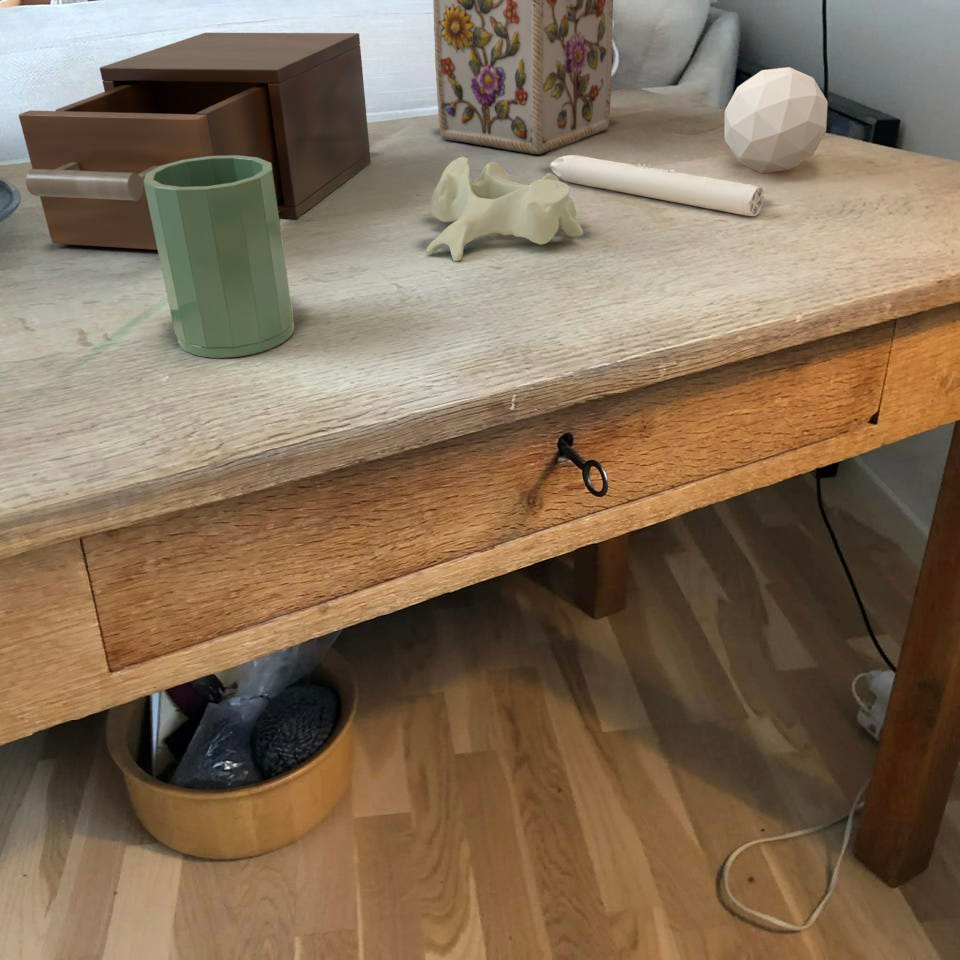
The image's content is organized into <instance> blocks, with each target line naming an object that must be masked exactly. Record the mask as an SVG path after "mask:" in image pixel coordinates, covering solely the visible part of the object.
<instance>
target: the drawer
mask: <svg viewBox="0 0 960 960" xmlns="http://www.w3.org/2000/svg"><path fill="white" fill-rule="evenodd" d="M268 84H269V83H220V82H159V81H132V82H130V83H127V84H124V85H121V86H119V87H116V88H113V89H111V90H108V91H103V92H99V93H97V94H95V95H91V96H89V97H87V98H84V99H81V100H79V101H75V102H72V103H70V104H67V105H65V106H62V107H59V108H56V109H55V110H27V111H24V112H22V113H19V114H18V119H19V123H20V126H21V130H22V134H23V138H24V141H25V146H26V149H27V153H28V157H29V161H30V164H31V165H30V166H31V169H30V170H28V171H27V173H26V176H25V185H26V188H27V191H28V192H29V194H30V195H32V196H34V197H39V198H40V203H41V206H42V210H43V213H44V217H45V221H46V225H47V229H48V232H49V236H50V241H51V243H52V244H53V245H55V244H57V245H70V246H71V245H73V246H86V247H88V246H90V247H106V248H119V249H120V248H122V249H138V250H139V249H140V250H154V251H155V250H157V251H158V249H157V244H156V239H155V235H154V230H153V225H152V220H151V215H150V211H149V206H148V201H147V196H146V191H145V186H144V182H143V181H144V178H145V175H146V173H148V172H150V171H152V170H154V169H156V168H157V167H159V166H162V165H165V164H169V163H173V162H177V161H181V160H185V159H192V158H200V157H207V156H230V155H239V156H248V157H257V158H260V159H263V160H265V161H268V162H270V163H271V164H272V169H273V176H274V183H275V191H276V198H277V200H278V199H279V198H281V197H282V196H283V191H282V184H281V176H280V169H279V162H278V154H277V147H276V140H275V132H274V125H273V118H272V110H271V103H270V96H269V88H268Z"/></svg>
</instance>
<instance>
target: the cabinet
mask: <svg viewBox="0 0 960 960" xmlns="http://www.w3.org/2000/svg"><path fill="white" fill-rule="evenodd" d="M99 72H100V77H101V80H102V86H103V92H105V91H108V90H111V89H113V88H116V87H119V86H121V85H124V84H127V83H130V82H132V81H159V82H220V83H269V84H268V88H269V96H270V103H271V110H272V118H273V125H274V132H275V140H276V147H277V154H278V162H279V169H280V176H281V184H282V191H283V196H282V197H281V198H279V199H278V200H277V205H278V212H279V219H291V220H293V219H294V220H297V219H299V218H300V217H302V216H303V215H304V214H306V213H307V212H308V211H309V210H311V209H312V208H313V207H315V206H316V205H317V204H318V203H320V202H322V201H323V200H324V199H325V198H326V197H328V196H329V195H330V194H331V193H333V192H334V191H335V190H337V189H338V188H340V187H341V186H342V185H343V184H345V183H346V182H347V181H349V180H350V179H351V178H353V177H354V176H355V175H357V174H358V173H359V172H360V171H361V170H363V169H364V168H366V167H367V166H369V165H370V164H371V161H372V160H371V152H370V151H371V150H370V139H369V130H368V129H369V128H368V118H367V106H366V105H367V104H366V96H365V95H366V94H365V83H364V74H363V61H362V51H361V40H360V33H359V32H202V33H200V34H197V35H193V36H191V37H188V38H186V39H182V40H178V41H176V42H173V43H170V44H167V45H164V46H161V47H157V48H155V49H153V50H152V49H151V50H149V51H146V52H145V51H144V52H143V53H140V54H136V55H133V56H130V57H128V58H127V57H126V58H124V59H122V60H118V61H116V62H112V63H109V64H107V65H103V66H100V67H99Z"/></svg>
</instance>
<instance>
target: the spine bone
mask: <svg viewBox="0 0 960 960" xmlns="http://www.w3.org/2000/svg"><path fill="white" fill-rule="evenodd" d="M508 176H509V175H508V174H507V172H506V170H505V169H504V167H503V165H502V164H500V163H499V162H496V161H489V162H488V163H487V164H486V165H485V166H484V169H483V170H482V171H481V172H480V174H479V175H478V176H477V177H476V179H475V180H474V181H472V180H471V165H470V160H469V158H468V157H466V156H464V157H463V156H459V158H456V159H453V160H452V161H451V162H450V163H449V164H448V165H447V166H446V167H445V169H444V171H443V172H442V174H441V177H440V179H439V181H438V183H437V185H436V186H435V188H434V190H433V192H432V197H431V201H430V203H429V213H430V215H431V216H432V217H433V218H436V219H437V220H439V221H440V222H445V223H447V222H449V223H450V222H451V224H449V225H447V227H446V228H445V229H444V230H443V231H442V232H441V233H440V234H439V235H438V236H436V238H434V239H433V240H431V242H430V243H429V244H428V245H427V247H426V253H427V255H429V256H431V255H432V254H434V253H435V252H437V251H438V250H439V249H440V248H442V247H443V246H445V245H447V246H448V247H449V251H450V255H451V258H452V260H453V261H456V262H459V261H460V260H462V258H463V255H464V247H465V246H466V245H467V244H468V243H470V242H472V241H474V240H476V239H478V238H480V237H483V236H487V235H490V234H495V233H498V234H501V235H503V236H509V235H512V236H514V237H515V238H524V239H527V240H529V241H530V242H532V243H534V244H537V245H545V244H547V243H550V241H551V240H552V239H553V238H554V237H555V235H556V233H557V232H558V231H559V229H560V227H561V229H562V231H563V232H564V234H565V235H567V236H568V237H569V238H577V237H581V236H583V235H584V230H583V228H582V227H581V225H580V223H579V222H578V221H577V220H576V218H577V213H578V212H577V208H576V205H575V202H574V200H573V198H572V197H571V196H570V195H571V191H572V190H571V186H569V185H568V184H567V183H565V182H562V181H560V180H559V177H558V176H557V175H556V174H552V173H551V172H547V173H546V174H545V175H544V176H543V177H542V178H538V179H536V180H533V181H532V182H531V183H529V184H525V183H521V182H515V181H513V180H511V179H510V178H509V177H508Z"/></svg>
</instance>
